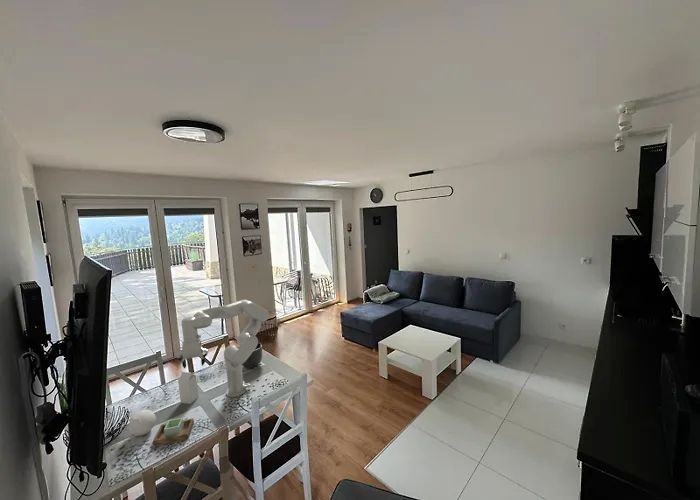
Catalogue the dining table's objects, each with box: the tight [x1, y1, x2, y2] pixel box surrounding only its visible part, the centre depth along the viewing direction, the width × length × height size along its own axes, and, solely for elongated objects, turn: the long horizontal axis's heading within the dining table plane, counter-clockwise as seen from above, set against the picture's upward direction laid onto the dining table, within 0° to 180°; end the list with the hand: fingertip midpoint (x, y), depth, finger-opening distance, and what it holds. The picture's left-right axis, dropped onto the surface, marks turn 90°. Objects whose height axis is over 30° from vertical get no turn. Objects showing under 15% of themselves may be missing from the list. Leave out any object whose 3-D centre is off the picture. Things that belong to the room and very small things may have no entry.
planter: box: [238, 341, 263, 370], centre depth 220 cm, size 17×17×16 cm
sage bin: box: [164, 417, 184, 437], centre depth 154 cm, size 7×7×6 cm
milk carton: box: [177, 371, 199, 405], centre depth 182 cm, size 7×7×19 cm
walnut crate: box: [152, 418, 195, 448], centre depth 154 cm, size 16×12×3 cm
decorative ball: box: [128, 409, 157, 437], centre depth 156 cm, size 12×12×12 cm
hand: (194, 365), depth 170 cm, fingers open, 9 cm apart
